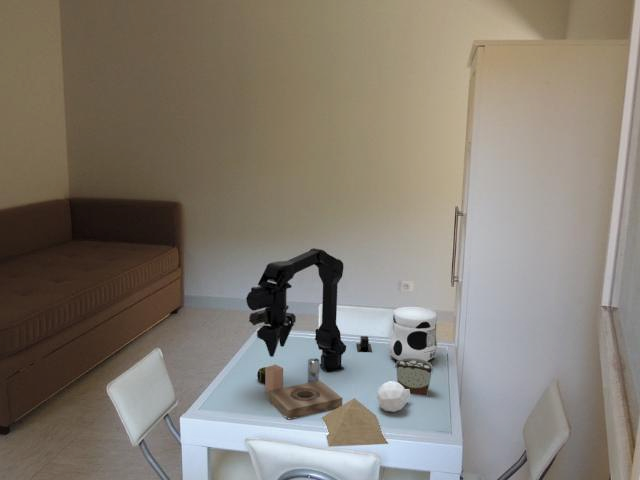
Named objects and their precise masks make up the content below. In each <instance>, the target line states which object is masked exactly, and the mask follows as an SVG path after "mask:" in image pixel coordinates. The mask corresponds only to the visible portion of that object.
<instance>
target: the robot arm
mask: <svg viewBox="0 0 640 480" xmlns="http://www.w3.org/2000/svg"><path fill="white" fill-rule="evenodd" d="M312 266H316V268H317V269H318V276H319V278H320V280H321V282H322V299H321V300H322V301H321V302H322V308H321V311H322V312H321V324H320V326H319V327H318V328H316V329H315V337H314V341H315V342H316V345H317V348H318V350H319V351H321V355H320V363H319V368H322V369H323V370H325V371H326V372H328V373H329V372H330V373H332V372H334V371H339V370H343V369H344V368H345V367H344V366H343V365H342V360H343V359H342V357H343V356H342V355H344V354H345V353H346V351H347V345H346V344H345V343H344V342H343V341H342V339H341V338H342V337H341V331H340V329H339V327H338V325H337V309H338V305H337V304H338V284H339V283H340V280H341V279H342V277H343V274H344V262H343V261H342V260H341V259H339V258H336V257H334V256H333V255H330V254H329V253H327V252H326V251H325V250H324V249H320V248H314V247H313V248H311V249H309V251H306V252H304V253H300V254H299V255H297V256H295V257H292V258H290V259H288V260H280V261H278V260H277V261H273V262H269V263H267V265H266V266H265V267H266V268H265V269H264V272H263V273H262V275H261V277H260V280H259V282H257V286H253V287H251V288H250V291H249V292H248V293H247V296H246V298H245V300H246V305H247V307H248V309H250V310H251V311H255V312H251V313H250V314H249V320H248V321H249V323H251V324H252V326H256V325H259V324H264V325H263V326H261V327H260V328H259V329H258V330H257V331H256V337H257V339H259V340H262V341H264V343H265V346H266V349H267V352H268V356H269V357H270V358H271V357H272V358H273V357H274V356H275V353H276V350H277V348H278V345H279V346H280V347H283V348H284V346H285V345H286V342H287V340H288V338H289V336H290V333H291V331H293V330H292V329H293V327H294V326H295V324H296V321H297V320H296V319H297V318H296V317H297V316H296V315H295V314H294V313H293V312H287V310H288V309H289V305H287V299H288V298H287V297H288V296H287V291H288V289H291V288H293V286H292V285H291V284H290V283H289V282H290V281H291V280H292V279H294V276H295V275H296V274H297V273H299V272H300V271H303V270H306V269H307V268H310V267H312ZM261 309H262V310H261ZM258 310H259V311H258Z"/></svg>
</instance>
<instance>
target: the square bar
mask: <svg viewBox="0 0 640 480" xmlns="http://www.w3.org/2000/svg"><path fill="white" fill-rule="evenodd" d="M264 367H265V366H264ZM264 385H265V389H264V390H265V392H266V393H268V394H269V391H271V390H276V389H281V388H284V367H282V366H280V365H277V364H272V365H270V366H266V367H265V384H264Z"/></svg>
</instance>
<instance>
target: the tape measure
mask: <svg viewBox="0 0 640 480" xmlns="http://www.w3.org/2000/svg"><path fill="white" fill-rule="evenodd" d="M256 375H257V379H258V381H259V382H261V383H265V366H264V367H261V368H259V369H258V371H257V374H256Z"/></svg>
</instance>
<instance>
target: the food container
mask: <svg viewBox="0 0 640 480" xmlns="http://www.w3.org/2000/svg"><path fill="white" fill-rule="evenodd" d="M394 369H396V380H397V381H396V382H398V383H400V384H401V385H402V386H403V387H404V388H405V389H410V395H413V396H420V397H425V398H428V396H429V395H428V394H429V388H430V383H431V378H432V374H434V367H433V365H432V363H431V362H430V363H429V362H427V361H425V360H421V359H415V358H406V359H401V360H399V361H397V360H396V363H395V365H394Z"/></svg>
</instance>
